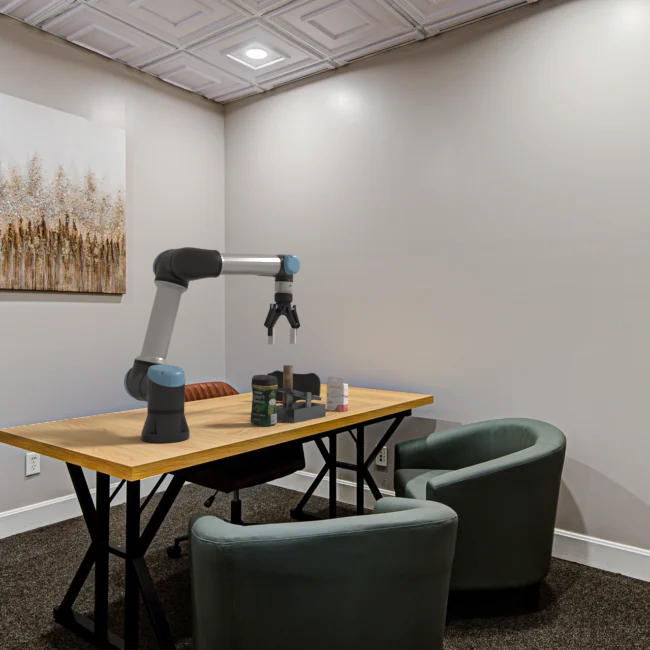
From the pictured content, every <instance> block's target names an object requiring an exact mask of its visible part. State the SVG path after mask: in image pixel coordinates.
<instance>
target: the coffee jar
mask: <svg viewBox="0 0 650 650" xmlns="http://www.w3.org/2000/svg"><path fill="white" fill-rule="evenodd" d="M277 387H278V383H277V378H276V377H275V376H270V375H267V374H254V375H253V376H252V378H251V390H252V398H251V399H252V401H251V411H250V424H252V425H254V426H259V427H272V426H273V427H274V426H275V425H276V424H277V423H278V420H277V411H276V406H277V401H276V391H277Z"/></svg>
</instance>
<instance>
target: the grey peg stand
mask: <svg viewBox="0 0 650 650" xmlns="http://www.w3.org/2000/svg"><path fill="white" fill-rule="evenodd" d="M292 396H293V395H290V394H287V404H283V403H282V404H278V405H277V404H276V411H277V422H278V421H279V422H286V423H291V424H296V423H300V422H305V421H310V420H314V419H319V418H325V417H326V411H327V409H326V406H327V403H326V404H325V403H320V402H312V400H311V392H308V393H306V395H305V400H300V401H297V402H295V403H292Z"/></svg>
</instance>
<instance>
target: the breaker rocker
mask: <svg viewBox="0 0 650 650" xmlns="http://www.w3.org/2000/svg"><path fill="white" fill-rule="evenodd" d="M277 391H280V392H283V393H287V394H290V395H294V396H297V397H301V398H305V395H306V393H304V392H300V391H297V390H293V389H287V388H278V387H277ZM311 401H322V397H321V396H320V397H319V396H316V395H311Z"/></svg>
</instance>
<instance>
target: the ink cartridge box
mask: <svg viewBox="0 0 650 650" xmlns="http://www.w3.org/2000/svg"><path fill="white" fill-rule="evenodd" d="M344 380H345V378H344V377H342V376H341V377H340V376H327V382H326V411H332V412H333V411H334V412H343V413H344V412H347V411H348V410H349V383H344Z"/></svg>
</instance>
